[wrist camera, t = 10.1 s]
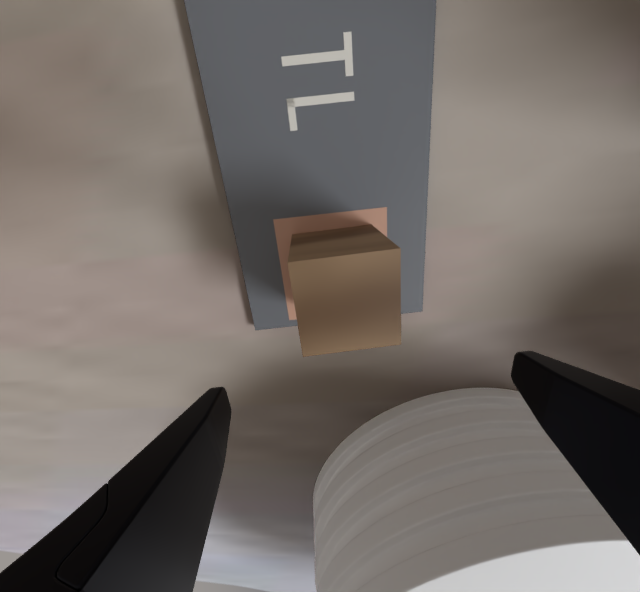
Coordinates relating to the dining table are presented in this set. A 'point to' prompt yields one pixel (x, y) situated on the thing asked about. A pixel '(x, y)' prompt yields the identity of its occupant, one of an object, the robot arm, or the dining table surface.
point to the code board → (318, 128)
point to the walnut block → (345, 289)
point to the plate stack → (462, 505)
